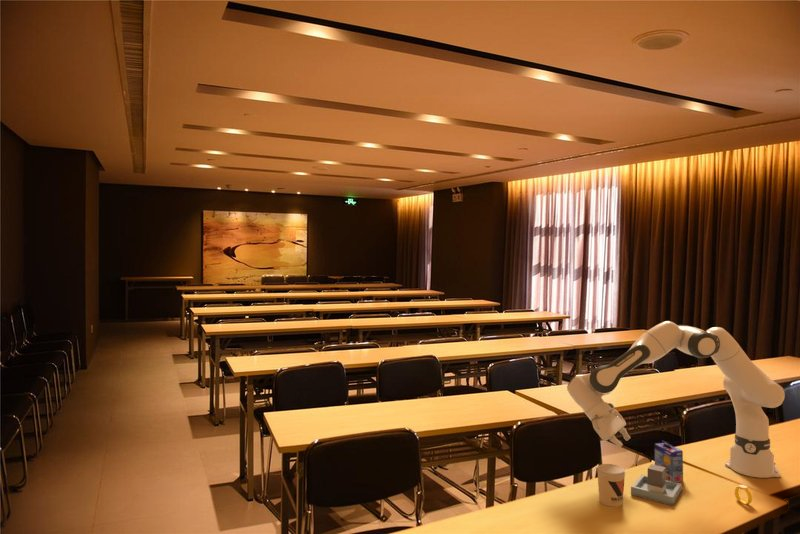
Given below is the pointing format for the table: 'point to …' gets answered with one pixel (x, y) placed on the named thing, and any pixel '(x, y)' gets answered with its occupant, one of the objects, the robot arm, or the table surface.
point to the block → (656, 478)
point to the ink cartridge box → (670, 461)
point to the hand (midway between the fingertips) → (625, 443)
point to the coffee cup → (611, 484)
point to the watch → (747, 493)
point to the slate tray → (667, 497)
